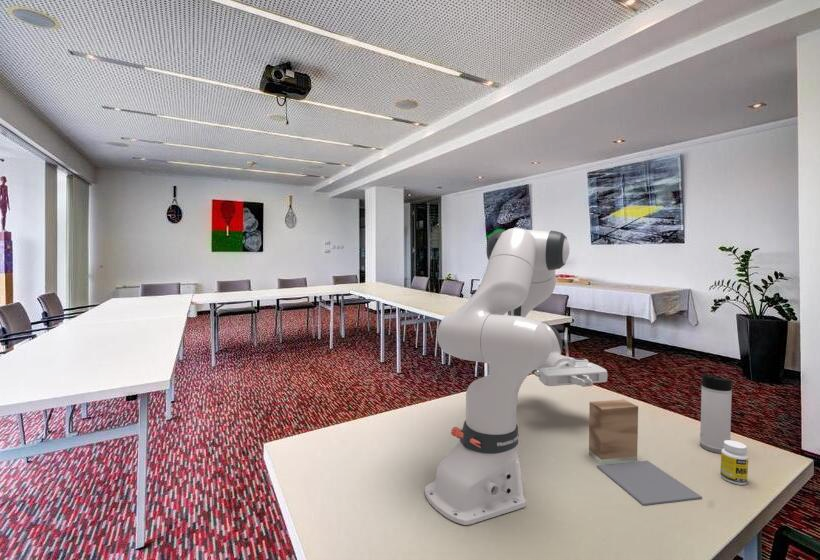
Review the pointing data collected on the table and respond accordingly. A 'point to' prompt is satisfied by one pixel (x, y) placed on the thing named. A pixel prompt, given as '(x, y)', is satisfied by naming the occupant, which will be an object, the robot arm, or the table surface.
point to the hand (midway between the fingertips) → (588, 383)
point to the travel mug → (715, 412)
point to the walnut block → (613, 431)
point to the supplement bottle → (734, 462)
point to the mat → (648, 483)
